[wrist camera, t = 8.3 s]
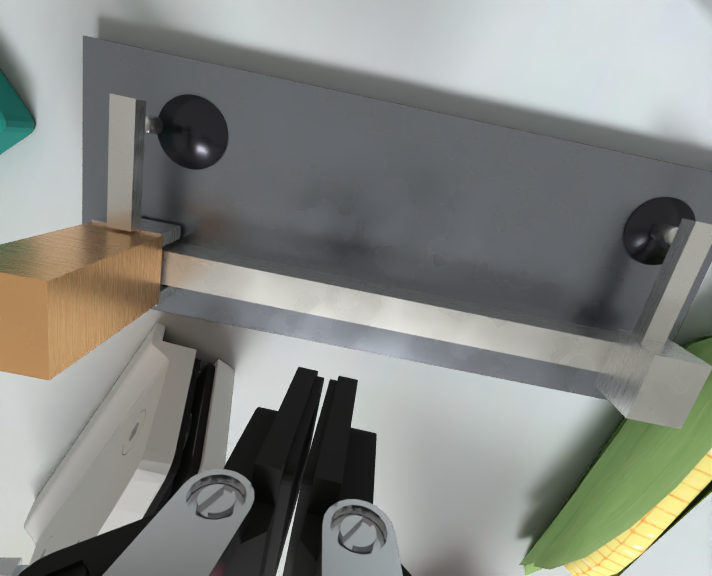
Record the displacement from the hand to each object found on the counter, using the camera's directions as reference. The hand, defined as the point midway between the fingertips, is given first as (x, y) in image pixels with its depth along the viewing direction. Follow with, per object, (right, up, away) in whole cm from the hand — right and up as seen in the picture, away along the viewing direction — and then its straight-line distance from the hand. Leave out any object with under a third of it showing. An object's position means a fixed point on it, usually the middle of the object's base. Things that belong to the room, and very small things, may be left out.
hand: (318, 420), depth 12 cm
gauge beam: (+3, +6, +9) cm, 11 cm away
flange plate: (+3, +6, +10) cm, 12 cm away
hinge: (-12, -6, +15) cm, 20 cm away
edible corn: (+16, -6, +14) cm, 22 cm away
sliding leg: (-9, +8, +8) cm, 14 cm away
